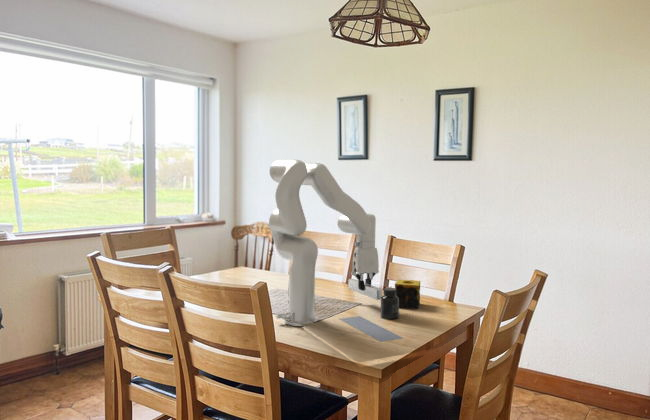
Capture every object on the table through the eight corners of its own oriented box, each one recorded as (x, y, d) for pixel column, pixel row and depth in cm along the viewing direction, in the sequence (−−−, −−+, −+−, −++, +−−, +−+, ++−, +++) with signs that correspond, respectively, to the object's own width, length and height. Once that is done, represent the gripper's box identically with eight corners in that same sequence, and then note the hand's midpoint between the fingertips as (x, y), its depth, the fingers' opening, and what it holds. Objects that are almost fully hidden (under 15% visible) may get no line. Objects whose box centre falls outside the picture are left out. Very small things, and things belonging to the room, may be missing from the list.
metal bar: (376, 300, 202) (377, 289, 201) (348, 288, 221) (348, 279, 221) (382, 299, 203) (382, 289, 203) (353, 288, 222) (353, 278, 222)
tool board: (380, 345, 169) (380, 341, 169) (338, 322, 193) (338, 318, 193) (403, 341, 173) (403, 337, 173) (359, 319, 198) (359, 316, 197)
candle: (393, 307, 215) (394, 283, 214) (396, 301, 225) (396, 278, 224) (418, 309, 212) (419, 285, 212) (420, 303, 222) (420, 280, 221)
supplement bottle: (397, 317, 200) (397, 287, 199) (400, 323, 193) (401, 291, 192) (379, 317, 200) (379, 286, 199) (381, 323, 193) (382, 291, 192)
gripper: (353, 247, 203) (352, 293, 205) (387, 244, 211) (386, 289, 212) (343, 244, 210) (342, 289, 211) (377, 242, 217) (376, 285, 219)
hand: (364, 289), depth 212 cm, fingers closed on metal bar, 2 cm apart
